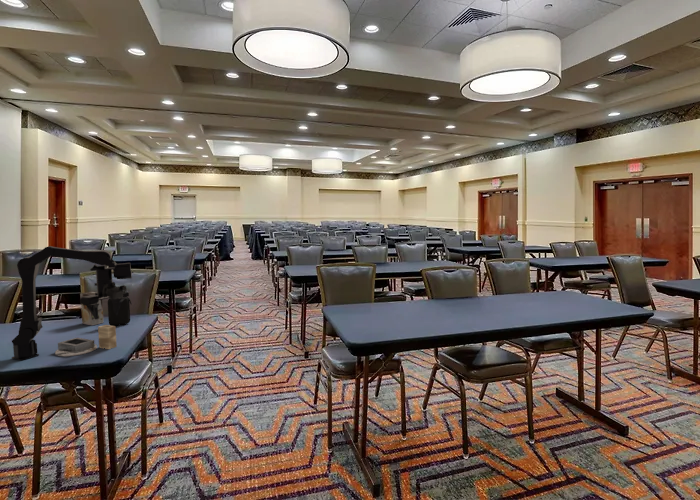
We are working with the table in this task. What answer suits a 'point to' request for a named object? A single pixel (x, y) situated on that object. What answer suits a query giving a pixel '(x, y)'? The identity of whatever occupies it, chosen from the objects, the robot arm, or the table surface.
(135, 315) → the table surface
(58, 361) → the table surface
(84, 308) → the coffee box
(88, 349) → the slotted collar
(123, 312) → the carrying case or bag
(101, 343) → the light wood block
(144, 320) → the table surface
